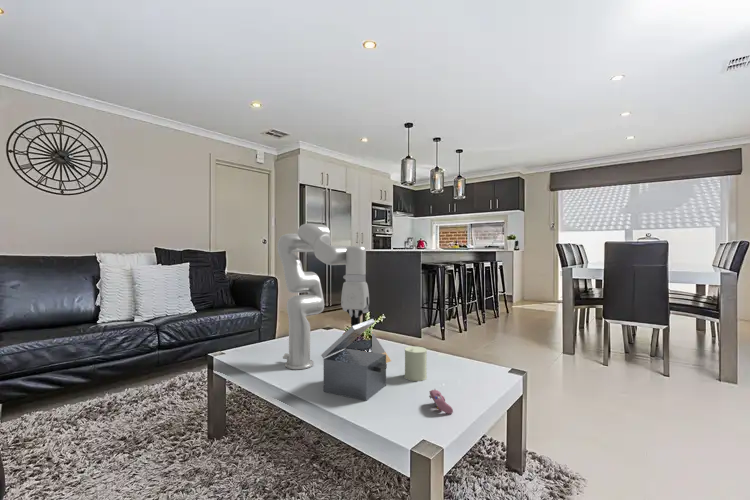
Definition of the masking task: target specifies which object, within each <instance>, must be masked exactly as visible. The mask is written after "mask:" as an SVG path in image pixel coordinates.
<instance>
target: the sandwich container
mask: <svg viewBox="0 0 750 500" xmlns="http://www.w3.org/2000/svg"><path fill="white" fill-rule="evenodd" d="M372 353H379V354H386V364H387V363H390V362H392V359H391V358H390V356H389V355H388V354H387V352H386V351H385V349H384V347H383V346H382V344H381V343H380V341H379V340H378V339H377V336H376V334H375V333H374V332H373V331H372Z"/></svg>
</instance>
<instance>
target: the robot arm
mask: <svg viewBox="0 0 750 500" xmlns="http://www.w3.org/2000/svg"><path fill="white" fill-rule="evenodd" d="M331 243H332V237H331V230H330V228H329V227H328V226H327V225H326V224H321V223H320V224H319V223H309V222H308V223H303V224H301V225H300V226H299V228H298V229H297V233H285V234H282V235H280V237H279V239H278V241H277V254H278V256H279V258H280V261H281V264H282V268H283V273H284V281H285V284H286V289H287V291H288V292H289V293H292V294H298V295H293V296H291V297H290V298H289V299H288V300H287V302H286V311H287V312H286V313H287V316H288V353H284V355H283V356H282V359H284V360H286V362H285V363H284V365H285V367H286V368H287V369H289V370H305V369H309V368H311V367H313V366H314V364H315V363H314V360H313V359H311V324H310V321H309V320H308V319H307V317H308V316H313V315H319V314H320V313H323V311H324V310H325V299H324V293H323V289H322V284H321V279H320V277H319V275H318V274H317V273H315V272H314V271H304V270H303V264H302V260H300V258H299V257H298V255H297V254H295V253H310V252H313V254H314V256H315V258H316V259H318V261H320V262H322V263H324V264H325V265H328V266H344V265H345V275H343V277H342V278H343V279H344V280H345V281H344V282H343V284H342V288H341V289H342V290H341V299H340V306H341V308H342V311H344V312H347V314H348V315H349V317H350V325H351V327H352V326H354V325H357V324H360V323H361V317H362V315H364V314H367V313H369V312H370V311H369V306H370V293H369V292H370V291H369V285H368V283H367V281H366V275H367V274H366V272H367V270H366V269H367V268H366V266H367V264H366V263H367V262H366V261H367V260H366V259H367V251H366V248H365V247H364V246H362V245H361V246H360V245H359V246H357V245H356V246H355V245H331ZM299 293H300V295H299ZM301 293H307V294H301ZM351 327H350V328H351Z"/></svg>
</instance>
